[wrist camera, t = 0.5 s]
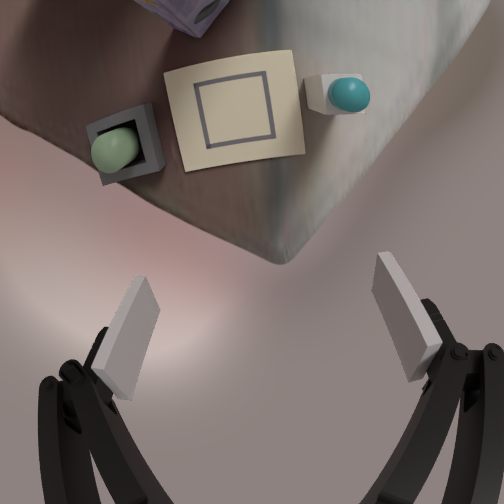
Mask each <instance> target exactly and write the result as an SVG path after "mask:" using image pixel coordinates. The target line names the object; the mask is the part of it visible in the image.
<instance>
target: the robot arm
mask: <svg viewBox="0 0 504 504" xmlns="http://www.w3.org/2000/svg"><path fill="white" fill-rule="evenodd" d="M372 293H373V295H374V297H375V299H376V302H377V304H378V306H379V308H380V311H381V313H382V315H383V318H384V320H385V322H386V325H387V327H388V329H389V332H390V335H391V337H392V340H393V342H394V345H395V347H396V350H397V352H398V355H399V358H400V360H401V363H402V366H403V368H404V371H405V374H406V377H407V379H408V382H412V381H416V380H419V379H422V378H423V377H424V375H425V373H426V372H427V374H428V377H429V379H428V380H427V382H426V384H425V385H424V387H423V388H422V390H423V393H422V395H421V397H420V399H419V402H418V404H417V406H416V409H415V411H414V413H413V415H412V417H411V419H410V421H409V423H408V425H407V428H406V430H405V431H404V433H403V435H402V437H401V439H400V441H399V443H398V445H397V447H396V448H395V450H394V452H393V454H392V455H391V457H390V459H389V460H388V462H387V464H386V465H385V467H384V469H383V470H382V472H381V473H380V475H379V477H378V478H377V480H376V481H375V483H374V484H373V486H372V487H371V488H370V490H369V492H368V493H367V494H366V496H365V497H364V498H363V500H362V501H361V502H360V503H359V504H413V503H414V501H415V499H416V498H417V496H418V494H419V492H420V491H421V489H422V487H423V485H424V483H425V482H426V480H427V478H428V476H429V474H430V472H431V470H432V468H433V466H434V464H435V461H436V459H437V457H438V455H439V453H440V450H441V448H442V446H443V443H444V441H445V438H446V436H447V434H448V431H449V428H450V426H451V423H452V420H453V417H454V414H455V412H456V408H457V405H458V402H459V399H460V409H459V419H458V428H457V435H456V442H455V449H454V454H453V459H452V464H451V470H450V473H449V478H448V483H447V486H446V490H445V493H444V497H443V500H442V503H441V504H497V503H498V498H499V494H500V489H501V484H502V478H503V472H504V352H503V350H502V348H501V347H500V346H499V345H497V344H495V343H489V344H487V345H486V346H485V348H484V349H483V350H468V348H467V347H466V346H465V345H463V344H461V343H457V342H456V340H455V339H454V337H453V335H452V333H451V331H450V329H449V327H448V326H447V324H446V322H445V320H443V317H442V315H441V314H440V312H439V310H438V308H437V307H436V305H435V304H434V303H433V302H432V301H430V300H429V299H428V298H427V299H422V300H420V299H419V298H418V296H417V294H416V293H415V291H414V289H413V288H412V286H411V284H410V283H409V281H408V279H407V278H406V276H405V274H404V273H403V271H402V270H401V268H400V267H399V265H398V263H397V262H396V260H395V259H394V257H393V256H392V254H391V253H390V252H380V253H377V260H376V267H375V274H374V281H373V286H372ZM159 312H160V308H159V306H158V303H157V301H156V299H155V297H154V294H153V292H152V290H151V287H150V285H149V283H148V280H147V278H146V276H135V277H134V278H133V280H132V282H131V284H130V286H129V288H128V290H127V292H126V293H125V296H124V298H123V300H122V301H121V303H120V305H119V307H118V309H117V311H116V313H115V315H114V318H113V320H112V322H111V324H110V326H109V327H104V328H103V329H102V330H101V331H100V332H99V333H98V335H97V337H96V339H95V343H93V346H92V349H91V350H90V352H89V355H88V357H87V359H86V361H85V363H84V366H83V367H82V365H81V364H80V363H79V362H78V361H77V360H72V359H71V360H68V361H66V362H65V363H64V364H63V365H62V366H61V368H60V370H59V376H60V377H61V379H62V380H63V381H58V380H57V379H56V378H55V377H53V376H48V377H46V378H44V379H43V380H42V382H41V383H40V386H39V399H38V446H39V461H40V471H41V480H42V488H43V493H44V500H45V504H101V502H100V498H99V494H98V490H97V486H96V481H95V477H94V472H93V467H92V462H91V456H90V452H91V454H92V457H93V459H94V461H95V464H96V466H97V468H98V470H99V472H100V475H101V477H102V479H103V481H104V483H105V485H106V487H107V489H108V491H109V493H110V494H111V496H112V498H113V500H114V502H115V504H174V503H173V502H172V500H171V499H170V498H169V496H168V495H167V493H166V492H165V491H164V489H163V488H162V486H161V485H160V483H159V482H158V480H157V479H156V477H155V476H154V474H153V473H152V471H151V470H150V468H149V466H148V465H147V463H146V461H145V460H144V458H143V456H142V455H141V453H140V451H139V450H138V448H137V446H136V444H135V443H134V440H133V439H132V437H131V435H130V433H129V431H128V429H127V427H126V425H125V423H124V421H123V419H122V417H121V415H120V413H119V411H118V409H117V407H116V405H115V402H114V401H113V400H112V395H113V393H114V394H115V395H116V396H117V398H119V399H123V400H130V401H131V399H132V396H133V393H134V389H135V386H136V382H137V379H138V376H139V373H140V369H141V366H142V363H143V360H144V356H145V354H146V351H147V347H148V344H149V341H150V338H151V336H152V333H153V329H154V327H155V323H156V321H157V318H158V315H159ZM89 449H90V450H89Z"/></svg>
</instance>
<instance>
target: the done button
mask: <svg viewBox="0 0 504 504" xmlns="http://www.w3.org/2000/svg"><path fill="white" fill-rule="evenodd" d="M140 146H141V144H140V139H139V136H138V135H137V133H136V132H135V131H134V130H132V129H131V128H128V127H120V128H117V129H115V130H112V131H110V132H107V133H104V134H102V135H100V136H99V137H97V138H96V140H95V141H94V143H93V145H92V148H91V157H92V160H93V163H94V164H95V166H96V167H97V168H98V169H99V170H100V171H102V172H104V173H114V172H116V171H118V170H120V169H121V168H122V167H124V166H125V165H127V164H128V163H130V162H131V161H133V160H134V159H135V158H136V157H137V156H138V154H139V151H140Z"/></svg>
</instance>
